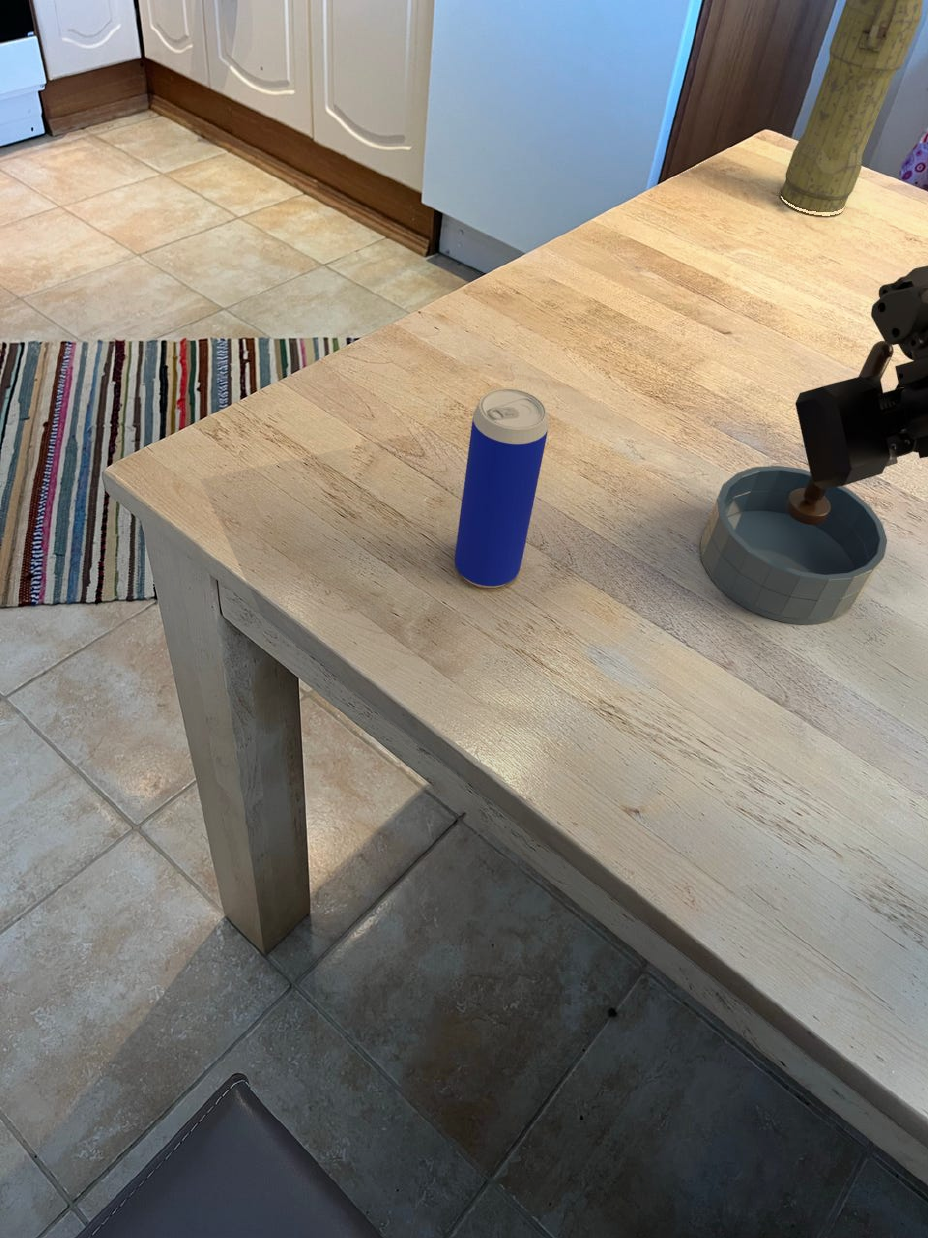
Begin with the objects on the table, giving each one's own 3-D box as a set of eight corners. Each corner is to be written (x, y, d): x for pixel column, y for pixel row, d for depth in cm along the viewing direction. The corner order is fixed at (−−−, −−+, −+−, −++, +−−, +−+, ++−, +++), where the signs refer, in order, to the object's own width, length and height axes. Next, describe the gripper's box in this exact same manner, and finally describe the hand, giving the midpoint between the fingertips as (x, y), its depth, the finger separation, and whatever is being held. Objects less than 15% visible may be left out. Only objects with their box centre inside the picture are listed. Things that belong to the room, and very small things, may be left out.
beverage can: (500, 539, 76) (528, 380, 65) (530, 582, 73) (565, 423, 62) (442, 554, 74) (461, 393, 63) (471, 599, 72) (496, 438, 60)
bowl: (870, 544, 81) (895, 499, 77) (847, 648, 72) (875, 603, 68) (720, 492, 83) (738, 447, 80) (682, 586, 75) (700, 540, 71)
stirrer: (834, 520, 73) (921, 352, 62) (801, 528, 72) (883, 358, 61) (809, 494, 75) (889, 326, 64) (776, 502, 74) (852, 332, 63)
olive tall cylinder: (842, 190, 132) (965, -124, 106) (846, 227, 124) (980, -104, 98) (778, 178, 132) (885, -137, 106) (778, 213, 124) (894, -118, 99)
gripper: (1102, 225, 58) (893, 302, 72) (883, 269, 51) (700, 345, 65) (1133, 405, 59) (922, 446, 73) (925, 473, 52) (736, 503, 66)
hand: (825, 432), depth 69 cm, fingers closed on stirrer
